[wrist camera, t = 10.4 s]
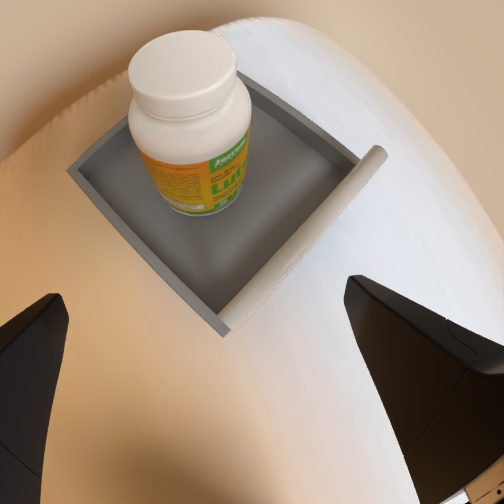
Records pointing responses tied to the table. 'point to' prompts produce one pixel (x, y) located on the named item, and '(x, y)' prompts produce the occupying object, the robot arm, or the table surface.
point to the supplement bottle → (191, 120)
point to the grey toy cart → (231, 209)
